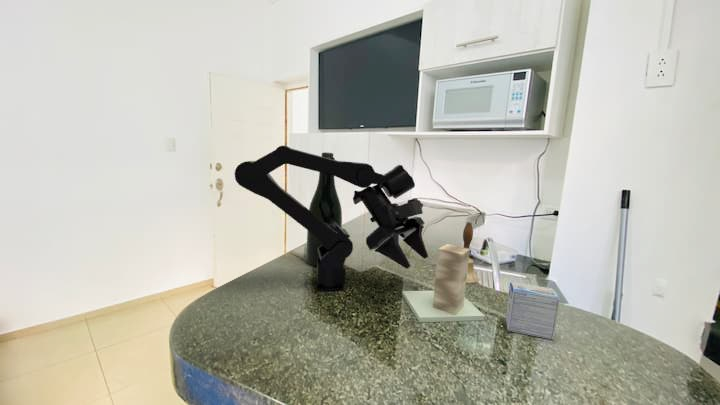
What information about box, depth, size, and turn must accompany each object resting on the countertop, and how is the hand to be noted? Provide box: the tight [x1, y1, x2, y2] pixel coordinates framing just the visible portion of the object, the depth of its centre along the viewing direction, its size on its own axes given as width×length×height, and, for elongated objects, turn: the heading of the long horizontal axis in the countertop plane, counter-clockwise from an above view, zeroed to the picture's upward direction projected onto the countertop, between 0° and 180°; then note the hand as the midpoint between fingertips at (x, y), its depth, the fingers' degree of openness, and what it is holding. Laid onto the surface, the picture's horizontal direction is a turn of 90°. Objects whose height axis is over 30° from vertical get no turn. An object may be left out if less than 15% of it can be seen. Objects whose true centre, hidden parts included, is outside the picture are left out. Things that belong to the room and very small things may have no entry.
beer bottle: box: [305, 152, 343, 267], centre depth 88 cm, size 10×10×33 cm
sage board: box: [401, 290, 485, 323], centre depth 66 cm, size 14×12×1 cm
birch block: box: [433, 243, 471, 315], centre depth 63 cm, size 5×5×13 cm
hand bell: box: [462, 221, 480, 284], centre depth 83 cm, size 8×8×16 cm
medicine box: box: [505, 281, 561, 341], centre depth 58 cm, size 8×4×9 cm, turn 71°
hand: (418, 262), depth 68 cm, fingers open, 9 cm apart
